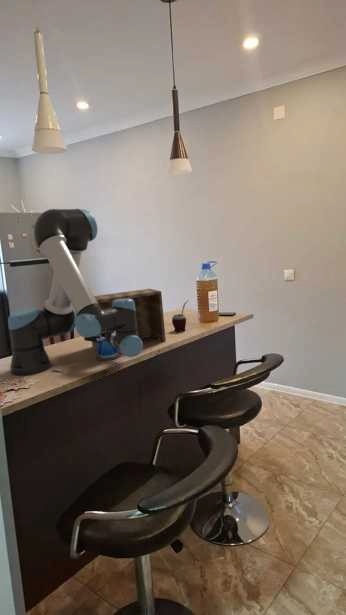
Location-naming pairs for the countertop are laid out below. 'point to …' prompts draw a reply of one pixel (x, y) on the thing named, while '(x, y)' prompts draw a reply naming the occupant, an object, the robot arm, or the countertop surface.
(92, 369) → the countertop surface
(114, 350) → the beer can
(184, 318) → the mate gourd
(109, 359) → the coaster
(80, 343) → the countertop surface
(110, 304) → the cubby
